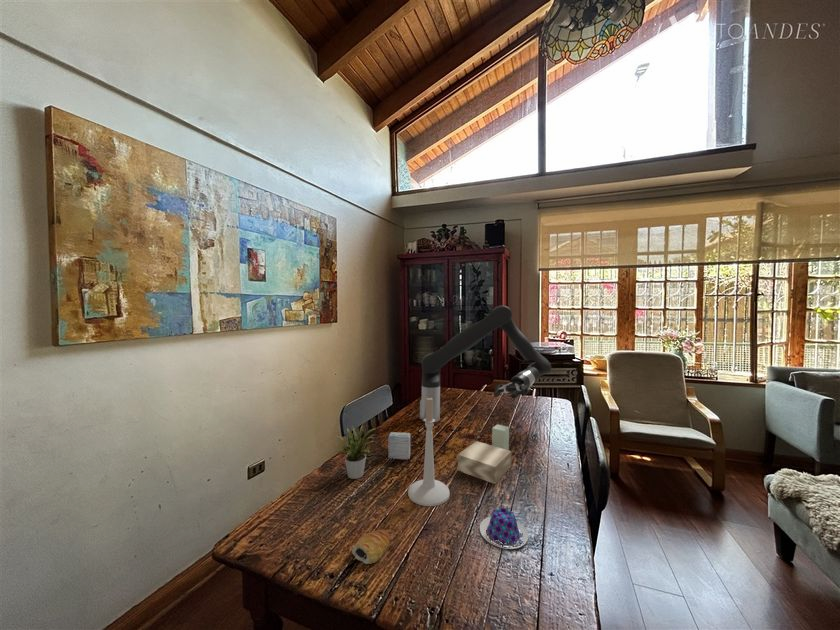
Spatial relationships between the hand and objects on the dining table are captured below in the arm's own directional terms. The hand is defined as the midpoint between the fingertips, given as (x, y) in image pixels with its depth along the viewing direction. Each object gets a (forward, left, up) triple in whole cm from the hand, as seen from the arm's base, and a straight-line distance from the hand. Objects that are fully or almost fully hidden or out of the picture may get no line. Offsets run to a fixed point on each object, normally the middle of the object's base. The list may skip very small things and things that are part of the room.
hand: (503, 395), depth 133 cm
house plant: (-31, -52, -20) cm, 64 cm away
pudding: (+19, -50, -21) cm, 58 cm away
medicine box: (-28, -34, -21) cm, 49 cm away
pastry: (-4, -74, -21) cm, 77 cm away
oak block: (+2, -23, -21) cm, 31 cm away
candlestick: (-6, -47, -21) cm, 52 cm away
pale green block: (+2, -8, -20) cm, 22 cm away
